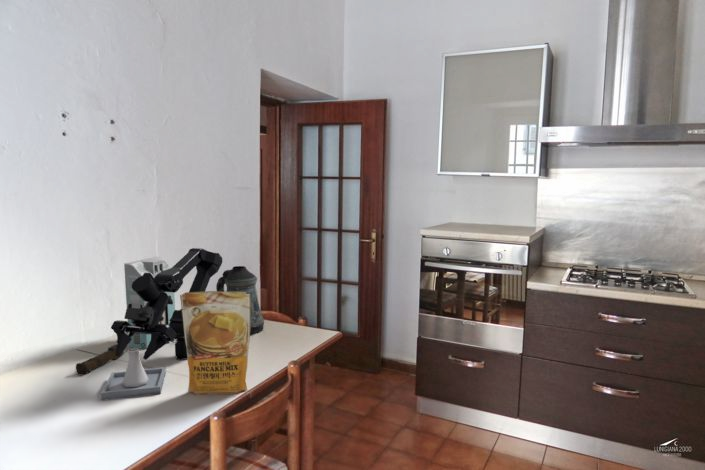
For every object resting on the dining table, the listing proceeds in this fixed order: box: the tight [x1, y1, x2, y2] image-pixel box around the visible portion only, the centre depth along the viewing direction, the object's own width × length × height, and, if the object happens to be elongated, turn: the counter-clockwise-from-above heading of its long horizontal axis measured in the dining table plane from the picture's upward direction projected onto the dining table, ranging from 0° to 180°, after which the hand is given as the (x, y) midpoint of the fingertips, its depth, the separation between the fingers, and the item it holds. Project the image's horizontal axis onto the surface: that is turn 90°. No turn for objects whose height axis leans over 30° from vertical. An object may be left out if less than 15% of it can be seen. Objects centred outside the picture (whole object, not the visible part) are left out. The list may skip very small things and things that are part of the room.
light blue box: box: [123, 256, 176, 350], centre depth 183 cm, size 16×8×30 cm, turn 162°
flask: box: [122, 347, 149, 388], centre depth 144 cm, size 7×7×10 cm
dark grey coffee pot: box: [215, 265, 265, 336], centre depth 196 cm, size 16×19×25 cm
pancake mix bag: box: [179, 290, 251, 395], centre depth 140 cm, size 7×19×28 cm, turn 92°
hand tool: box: [75, 343, 125, 376], centre depth 162 cm, size 19×4×5 cm, turn 163°
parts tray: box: [100, 366, 167, 401], centre depth 144 cm, size 15×15×2 cm
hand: (130, 357), depth 142 cm, fingers open, 9 cm apart
